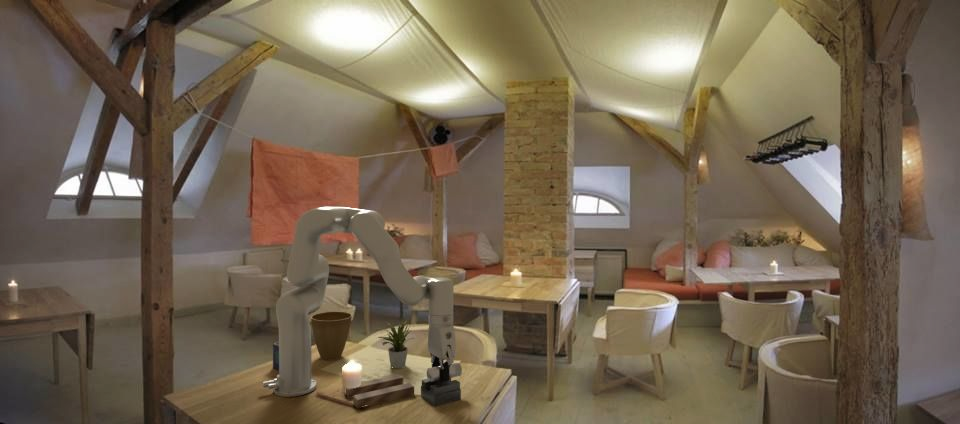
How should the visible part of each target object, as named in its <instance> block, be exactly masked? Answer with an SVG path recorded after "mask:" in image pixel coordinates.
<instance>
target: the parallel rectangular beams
mask: <svg viewBox="0 0 960 424" xmlns="http://www.w3.org/2000/svg"><path fill="white" fill-rule="evenodd" d="M346 395H347V396H348V397H351V398H353V399H352V401H353V403H354V404H355V406H354V407H355V408H356V409H357V410H358V409H362V408H361V407H362V406H365V405H368V406H367V407H370V406H371V407H372V406H374V405H375V406H376V405H378V404H382V403H386V402H389V401H394V400H399V399H402V398H406V397H407V398H408V397H411V396H414V395H415V385H413V384H412V383H411V382H406V383H404V377H403V376H402V375H401V374H400V373H398V374H393V375H389V376H383V377H380V378H379V377H377V378H375V379H371V380H365V381H361V385H360V386H359V387H356V388H346ZM346 395H345V396H346ZM347 396H346V397H347ZM352 396H353V397H352ZM348 397H347V398H348ZM354 404H353V405H354Z"/></svg>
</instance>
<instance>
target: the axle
mask: <svg viewBox="0 0 960 424" xmlns="http://www.w3.org/2000/svg"><path fill="white" fill-rule="evenodd" d="M440 368H441V366H437V367H432V366H431V367H428V368H427V370H426V379H428V381H429V382H433V381H438V380H439V369H440ZM462 369H463V368H462V366H461V363H460V362H455V363H454V362H453V363H452V364H451V365H450V369H449V378H451V379H452V378H456V377H461V376H462V373H463V372H462Z"/></svg>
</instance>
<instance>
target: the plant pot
mask: <svg viewBox="0 0 960 424" xmlns="http://www.w3.org/2000/svg"><path fill="white" fill-rule="evenodd" d="M310 319H311V320H310V321H311V323H310V324H311V330H312V333H313V337H314V343H315V346H316V349H317V352H318V354H319V357H320V359H321V360H324V361H334V360H338V359H340V358H342V355H343V352H344V350H345V347H346V345H347V341H348V337H349V334H350V329H351V324H352V319H353V315H352V313H350V312H346V311H326V312H319V313H314V314H312V315H311V317H310Z"/></svg>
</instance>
